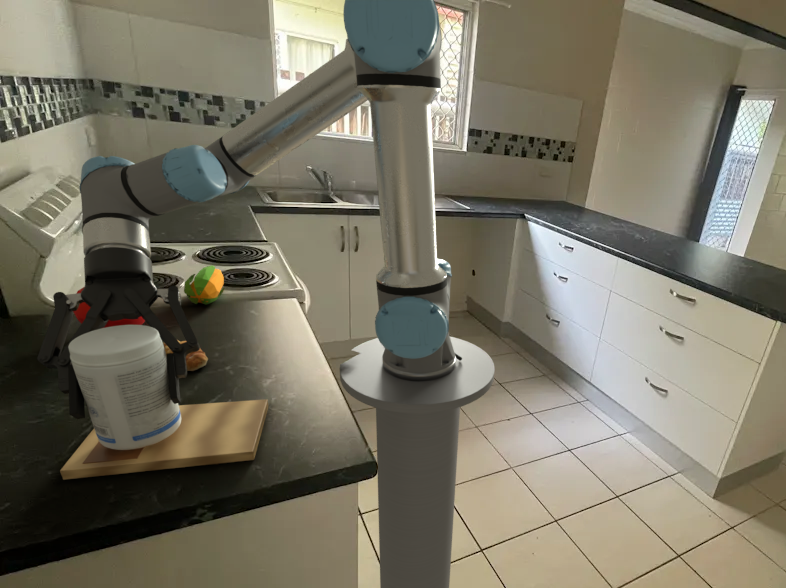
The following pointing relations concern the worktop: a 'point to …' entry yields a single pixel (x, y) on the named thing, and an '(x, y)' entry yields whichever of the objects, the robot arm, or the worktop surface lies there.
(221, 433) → the cutting board
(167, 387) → the supplement tub
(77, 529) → the worktop surface
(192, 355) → the pastry
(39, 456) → the worktop surface
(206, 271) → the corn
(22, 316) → the worktop surface
